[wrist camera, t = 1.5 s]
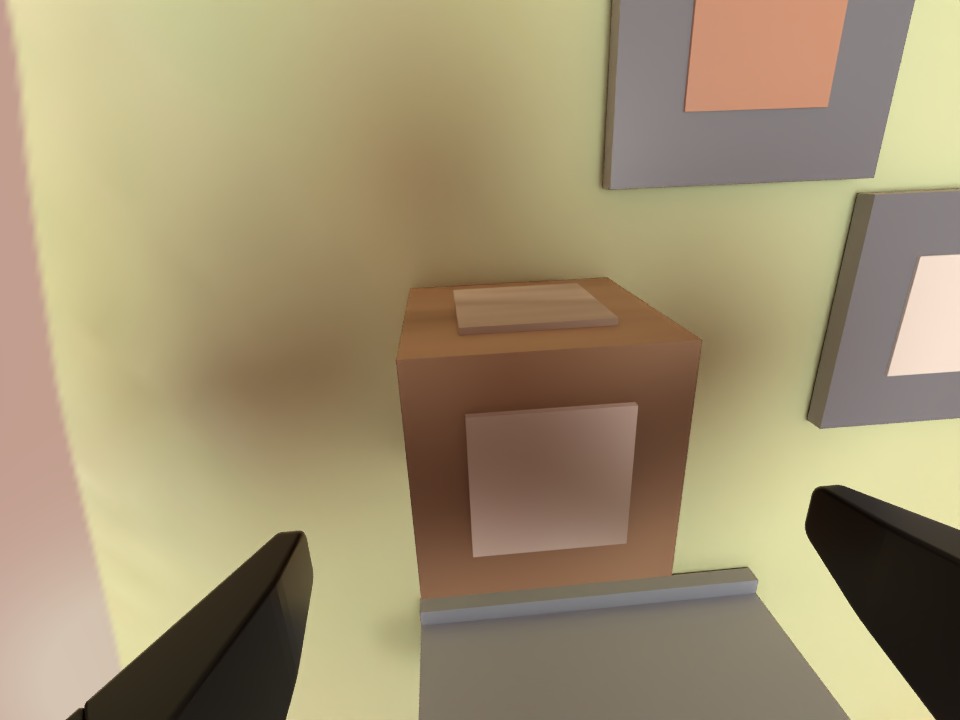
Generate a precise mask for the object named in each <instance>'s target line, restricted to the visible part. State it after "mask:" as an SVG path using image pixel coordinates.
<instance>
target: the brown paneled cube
mask: <svg viewBox="0 0 960 720" xmlns="http://www.w3.org/2000/svg"><path fill="white" fill-rule="evenodd" d="M701 344H702V340H701V339H699V338H698V337H696V336H695V335H693V334H692V333H690V332H689V331H687V330H686V329H684V328H683V327H681V326H680V325H678V324H677V323H675V322H674V321H672V320H671V319H669V318H668V317H666V316H665V315H663V314H662V313H660V312H658V311H657V310H655V309H654V308H652V307H651V306H649V305H648V304H646V303H645V302H643V301H642V300H640V299H639V298H637V297H636V296H634V295H633V294H631V293H630V292H628V291H627V290H625V289H624V288H622V287H621V286H619V285H618V284H616V283H615V282H613V281H612V280H610V279H609V278H590V279H572V280H554V281H537V282H519V283H501V284H483V285H465V286H448V287H430V288H412V289H410V293H409V298H408V303H407V308H406V313H405V318H404V323H403V328H402V333H401V338H400V343H399V348H398V353H397V358H396V364H397V374H398V383H399V393H400V402H401V412H402V421H403V431H404V440H405V450H406V459H407V468H408V478H409V487H410V497H411V506H412V516H413V525H414V535H415V544H416V553H417V563H418V572H419V582H420V591H421V599H432V598H442V597H453V596H464V595H474V594H485V593H495V592H506V591H516V590H527V589H537V588H548V587H558V586H569V585H579V584H590V583H601V582H611V581H622V580H632V579H643V578H653V577H664V576H672V568H673V560H674V553H675V545H676V537H677V529H678V522H679V514H680V506H681V499H682V491H683V483H684V475H685V468H686V460H687V452H688V444H689V437H690V429H691V421H692V414H693V406H694V398H695V390H696V383H697V375H698V367H699V360H700V352H701Z"/></svg>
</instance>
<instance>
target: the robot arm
mask: <svg viewBox="0 0 960 720" xmlns="http://www.w3.org/2000/svg"><path fill="white" fill-rule="evenodd" d="M805 530H806V534H807V536H808V538H809V540H810V542H811V543H812V545H813V546H814V548H815V550H816V551H817V553H818V554H819V556H820V558H821V559H822V561H823V562H824V564H825V565H826V567H827V569H828V570H829V572H830V573H831V575H832V577H833V578H834V580H835V581H836V583H837V585H838V586H839V588H840V589H841V591H842V592H843V594H844V596H845V597H846V599H847V600H848V602H849V604H850V605H851V607H852V608H853V610H854V611H855V613H856V614H857V616H858V617H859V619H860V620H861V621H862V623H863V624H864V625H865V627H866V628H867V630H868V631H869V632H870V634H871V635H872V636H873V638H874V639H875V640H876V642H877V643H878V644H879V645H880V647H881V648H882V649H883V651H884V652H885V653H886V655H887V656H888V657H889V659H890V660H891V661H892V663H893V664H894V665H895V667H896V668H897V669H898V671H899V672H900V673H901V675H902V676H903V677H904V678H905V680H906V681H907V682H908V684H909V685H910V686H911V688H912V689H913V690H914V692H915V693H916V694H917V696H918V697H919V698H920V700H921V701H922V702H923V704H924V705H925V706H926V707H927V709H928V710H929V711H930V713H931V714H932V715H933V717H934V718H935V719H936V720H960V530H958V529H955V528H953V527H950V526H948V525H945V524H942V523H940V522H937V521H934V520H932V519H929V518H927V517H924V516H921V515H919V514H916V513H913V512H911V511H908V510H905V509H903V508H900V507H898V506H895V505H892V504H890V503H887V502H884V501H882V500H879V499H877V498H874V497H871V496H869V495H866V494H863V493H861V492H858V491H855V490H853V489H850V488H848V487H845V486H842V485H830V486H820V487H817V488H816V489H815V490H814V491H813V493H812V496H811V500H810V504H809V509H808V513H807V517H806V521H805ZM312 584H313V568H312V563H311V558H310V553H309V548H308V543H307V538H306V535H305V533H304V532H302V531H290V532H281V533H278V534H277V535H275V536H274V537H273V538H272V539H271V540H269V541H268V542H267V543H266V544H265V545H264V546H263V547H261V548H260V549H259V550H258V551H257V552H256V553H255V554H254V555H252V556H251V557H250V558H249V559H248V560H247V561H246V562H244V563H243V564H242V565H241V566H240V567H239V568H238V569H237V570H235V571H234V572H233V573H232V574H231V575H230V576H229V577H227V578H226V579H225V580H224V581H223V582H222V583H221V584H220V585H218V586H217V587H216V588H215V589H214V590H213V591H212V592H210V593H209V594H208V595H207V596H206V597H205V598H204V599H202V600H201V601H200V602H199V603H198V604H197V605H196V606H195V607H193V608H192V609H191V610H190V611H189V612H188V613H187V614H185V615H184V616H183V617H182V618H181V619H180V620H179V621H178V622H176V623H175V624H174V625H173V626H172V627H171V628H170V629H168V630H167V631H166V632H165V633H164V634H163V635H162V636H161V637H159V638H158V639H157V640H156V641H155V642H154V643H153V644H151V645H150V646H149V647H148V648H147V649H146V650H145V651H144V652H142V653H141V654H140V655H139V656H138V657H137V658H136V659H134V660H133V661H132V662H131V663H130V664H129V665H128V666H126V667H125V668H124V669H123V670H122V671H121V672H120V673H119V674H117V675H116V676H115V677H114V678H113V679H112V680H111V681H110V682H108V683H107V684H106V685H105V686H104V687H103V688H102V689H100V690H99V691H98V692H97V693H96V694H95V695H94V696H92V698H90V699H89V700H88V701H87V702H86V704H85V707H84V708H79V709H77V710H76V711H75V712H74V713H73V714H72V715H71V716H70V717H68V718H67V719H66V720H286V717H287V713H288V709H289V706H290V702H291V699H292V695H293V691H294V687H295V683H296V679H297V675H298V669H299V664H300V658H301V652H302V646H303V640H304V634H305V628H306V621H307V615H308V609H309V603H310V597H311V591H312Z"/></svg>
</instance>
